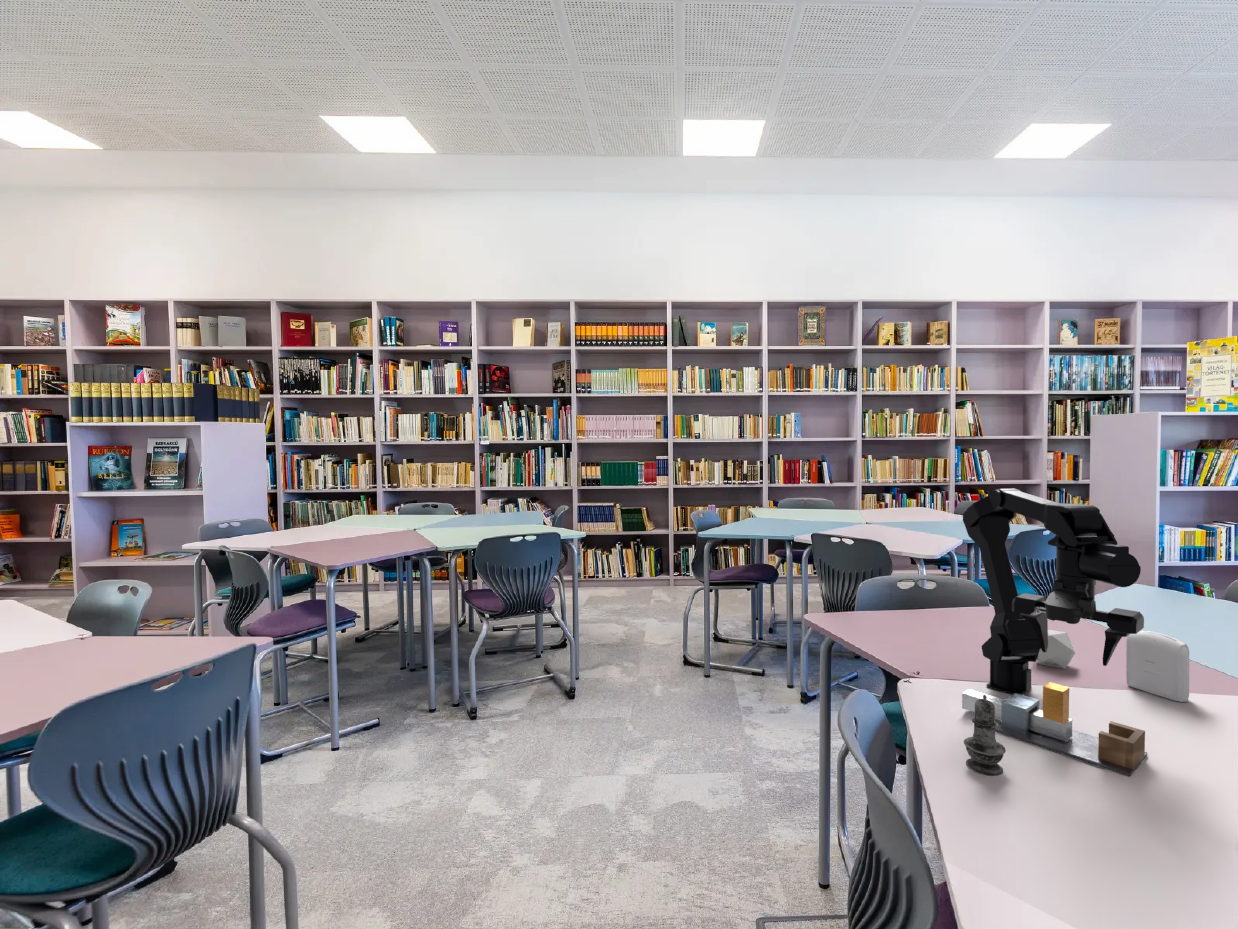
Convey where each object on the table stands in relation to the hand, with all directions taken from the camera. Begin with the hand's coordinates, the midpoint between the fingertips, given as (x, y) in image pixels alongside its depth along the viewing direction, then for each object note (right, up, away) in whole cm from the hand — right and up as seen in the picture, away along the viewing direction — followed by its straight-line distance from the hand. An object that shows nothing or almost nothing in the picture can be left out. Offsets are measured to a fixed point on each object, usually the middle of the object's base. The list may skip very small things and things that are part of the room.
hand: (1073, 658), depth 113 cm
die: (+17, -11, +30) cm, 37 cm away
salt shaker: (-24, -14, -13) cm, 31 cm away
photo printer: (+27, -12, +14) cm, 33 cm away
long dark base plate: (-6, -13, -6) cm, 15 cm away
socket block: (-1, -13, -12) cm, 18 cm away
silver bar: (-11, -12, +1) cm, 16 cm away
